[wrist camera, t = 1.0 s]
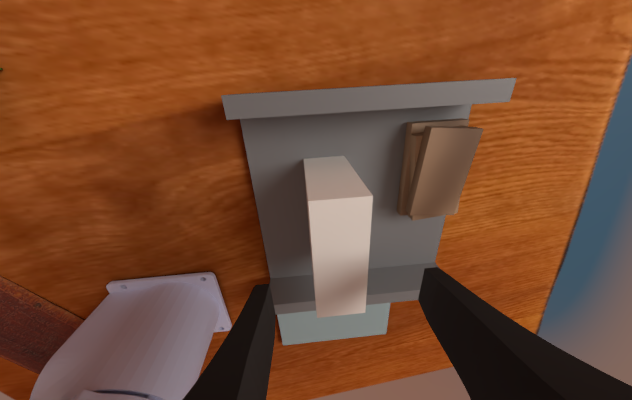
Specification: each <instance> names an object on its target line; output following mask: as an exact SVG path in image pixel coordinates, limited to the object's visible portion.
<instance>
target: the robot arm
mask: <svg viewBox="0 0 632 400" xmlns="http://www.w3.org/2000/svg"><path fill="white" fill-rule="evenodd" d="M202 277H204V278H202ZM106 288H107V290H108V292H109V293H110V294H109V295H108V296H107V297H106V298H105V299H104V300H103V301H102V302H101V303H100V304H99V306H98V307H97V308H96V309H95V310H94V311H93V312H92V313H91V314H90V315H89V317H88V318H87V319H86V320H85V321H84V322H83V323H82V324H81V325H80V326H79V327H78V329H77V330H76V331H75V332H74V333H73V334H72V335H71V336H70V337H69V338H68V340H67V341H66V342H65V343H64V344H63V345H62V346H61V347H60V348H59V349H58V350H57V352H56V353H55V354H54V355H53V356H52V357H51V359H50V360H49V361H48V362H47V364H46V365H45V367H44V368H43V370H42V371H41V373H40V375H39V377H38V379H37V381H36V383H35V385H34V388H33V390H32V393H31V397H30V400H266V395H267V388H268V381H269V374H270V367H271V360H272V353H273V346H274V339H275V315H276V314H275V309H274V304H273V299H272V294H271V289H270V284H262V285H256V286H255V287H254V288H253V290H252V292H251V294H250V296H249V298H248V300H247V302H246V304H245V306H244V308H243V310H242V312H241V313H240V315H239V317H238V319H237V320H236V322H235V324H234V326H233V327H232V324H231V321H230V318H229V315H228V312H227V309H226V306H225V303H224V300H223V297H222V294H221V291H220V288H219V285H218V282H217V279H216V276H215V274H214V273H212V272H203V273H193V274H182V275H172V276H161V277H151V278H140V279H130V280H119V281H111V282H109V283H108V284H107V285H106ZM418 300H419V302H420V305H421V307H422V310H423V312H424V314H425V316H426V319H427V321H428V323H429V325H430V326H431V328H432V330H433V332H434V333H435V335H436V337H437V339H438V340H439V342H440V344H441V346H442V347H443V349H444V351H445V352H446V354H447V356H448V358H449V359H450V361H451V363H452V364H453V366H454V368H455V369H456V371H457V373H458V375H459V377H460V378H461V380H462V382H463V384H464V386H465V388H466V390H467V392H468V394H469V396H470V398H471V400H632V386H630V385H628V384H626V383H624V382H622V381H620V380H618V379H616V378H614V377H612V376H610V375H608V374H606V373H604V372H602V371H600V370H598V369H596V368H594V367H592V366H591V365H589V364H587V363H585V362H583V361H581V360H579V359H577V358H576V357H574V356H572V355H570V354H568V353H566V352H565V351H563V350H561V349H559V348H557V347H555V346H554V345H552V344H551V343H549V342H547V341H546V340H544V339H542V338H540V337H539V336H537V335H535V334H534V333H532V332H530V331H529V330H527V329H526V328H524V327H522V326H521V325H519V324H518V323H516V322H515V321H513V320H512V319H510V318H509V317H507V316H505V315H504V314H502V313H501V312H499V311H498V310H497V309H495V308H494V307H492V306H491V305H489V304H488V303H486V302H485V301H484V300H482V299H481V298H479V297H478V296H477V295H475V294H474V293H472V292H471V291H470V290H468V289H467V288H466V287H464V286H463V285H461V284H460V283H459V282H457V281H456V280H455V279H453V278H452V277H451V276H449V275H448V274H446V273H445V272H444V271H442V270H441V269H439V268H438V267H433V268H425V269H424V274H423V279H422V283H421V288H420V293H419V297H418ZM231 327H232V329H231ZM230 329H231V331H230V332H229V334H228V336H227V337H226V339H225V340H224V342H223V343H222V345H221V347H220V348H219V350H218V351H217V353H216V354H215V356H214V357H213V359H212V360H211V362H210V363H209V365H208V366H207V367H206V369H205V370H204V372H203V373H202V374H201V376H200V377H199V374H200V371H201V368H202V365H203V362H204V359H205V356H206V353H207V350H208V348H209V345H210V342H211V339H212V336H213V333H214V332H221V331H229V330H230ZM198 377H199V379H198Z"/></svg>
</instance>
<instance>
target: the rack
mask: <svg viewBox="0 0 632 400" xmlns="http://www.w3.org/2000/svg"><path fill="white" fill-rule="evenodd" d="M515 81H516V78H507V79H487V80H468V81H451V82H434V83H417V84H400V85H383V86H366V87H349V88H332V89H315V90H298V91H281V92H264V93H248V94H232V95H221V97H222V102H223V106H224V111H225V115H226V120H233V119H240V122H241V127H242V133H243V138H244V143H245V148H246V153H247V159H248V164H249V169H250V174H251V180H252V185H253V190H254V195H255V200H256V206H257V211H258V216H259V221H260V227H261V232H262V237H263V242H264V247H265V253H266V258H267V263H268V268H269V274H270V289H271V294H272V299H273V304H274V309H275V314H276V315H278V314H288V313H297V312H307V311H316V301H315V291H314V280H313V269H312V258H311V247H310V235H309V222H308V209H307V197H306V184H305V171H304V159H307V158H321V157H335V156H345V158H346V159H347V161H348V162H349V163H350V165H351V166H352V167H353V169H354V170H355V172H356V173H357V174H358V176H359V177H360V179H361V180H362V181H363V183H364V184H365V185H366V187H367V188H368V190H369V191H370V192H371V194H372V195H373V204H372V219H371V234H370V250H369V265H368V280H367V295H366V305H372V304H382V303H391V302H401V301H410V300H418V297H419V293H420V288H421V283H422V279H423V274H424V269H425V268H433V267H438V266H437V265H436V263H435V259H436V255H437V250H438V246H439V242H440V238H441V233H442V229H443V225H444V221H445V216H446V215H443V216H437V217H431V218H426V219H420V220H415V221H412V220H411V219H410V217H409V216H408V215H403V216H400V215H399V213H398V212H397V211H396V210H397V202H398V194H399V185H400V177H401V169H402V161H403V152H404V144H405V136H406V127H407V122H414V121H429V120H444V119H459V118H463V119H468V118H469V114H470V109H471V105H472V104H482V103H497V102H509V101H510V98H511V95H512V91H513V88H514V85H515ZM438 268H439V267H438ZM439 269H440V268H439Z"/></svg>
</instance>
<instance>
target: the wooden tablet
mask: <svg viewBox="0 0 632 400" xmlns="http://www.w3.org/2000/svg"><path fill="white" fill-rule="evenodd" d="M84 321H85V320H83V319H81V318H79V317H78V316H76V315H74V314H72V313H70V312H69V311H67V310H65V309H63V308H61V307H59V306H57V305H55V304H53V303H51V302H49V301H47V300H45V299H43V298H41V297H39V296H37V295H36V294H34V293H32V292H30V291H28V290H26V289H25V288H23V287H21V286H19V285H17V284H15V283H13V282H11V281H9V280H7V279H5V278H3V277H1V276H0V357H2V358H5V359H7V360H9V361H11V362H13V363H16V364H17V365H19V366H22V367H24V368H26V369H28V370H31V371H33V372H35V373H38V374H40V373H41V371H42V370H43V368H44V367H45V365H46V364H47V362H48V361H49V360H50V359H51V357H52V356H53V355H54V354H55V353H56V352H57V350H58V349H59V348H60V347H61V346H62V345H63V344H64V343H65V342H66V341H67V340H68V338H69V337H70V336H71V335H72V334H73V333H74V332H75V331H76V330H77V329H78V327H79V326H80V325H81V324H82V323H83V322H84Z"/></svg>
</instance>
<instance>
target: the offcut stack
mask: <svg viewBox="0 0 632 400" xmlns="http://www.w3.org/2000/svg"><path fill="white" fill-rule="evenodd" d="M468 124H469V120H468V119H463V118H459V119H444V120H429V121H414V122H407V127H406V136H405V144H404V152H403V161H402V169H401V177H400V185H399V194H398V202H397V210H396V211H397V212H398V213H399V215H400V216H403V215H408V216H409V217H410V219H411V220H412V221H415V220H420V219H426V218H431V217H437V216H443V215H454V213H458V206H459V199H460V195H461V192H462V189H463V187H464V184H465V181H466V178H467V175H468V172H469V169H470V166H471V164H472V161H473V158H474V155H475V152H476V149H477V146H478V143H479V140H480V138H481V135H482V132H483V129H481V128H477V127H468Z"/></svg>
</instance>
